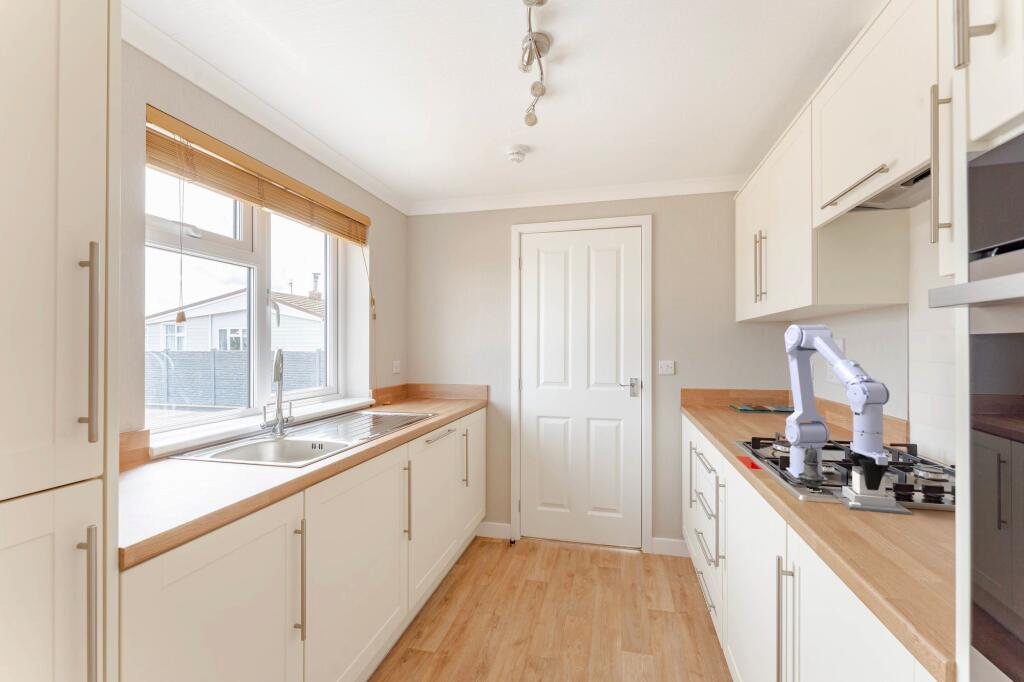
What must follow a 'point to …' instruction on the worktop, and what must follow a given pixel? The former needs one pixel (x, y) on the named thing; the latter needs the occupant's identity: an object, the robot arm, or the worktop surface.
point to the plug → (860, 485)
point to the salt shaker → (811, 470)
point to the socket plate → (870, 502)
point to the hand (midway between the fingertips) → (867, 486)
